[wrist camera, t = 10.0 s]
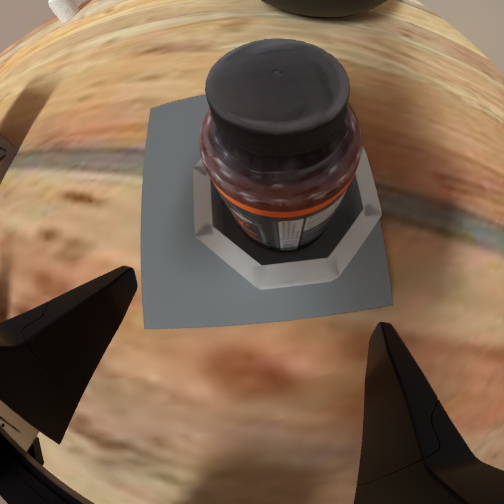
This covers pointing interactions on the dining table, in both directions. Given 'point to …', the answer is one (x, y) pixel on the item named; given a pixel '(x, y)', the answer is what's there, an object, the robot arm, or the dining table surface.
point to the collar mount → (244, 244)
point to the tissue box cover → (6, 155)
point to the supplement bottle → (280, 140)
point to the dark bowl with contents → (325, 6)
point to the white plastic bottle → (64, 9)
